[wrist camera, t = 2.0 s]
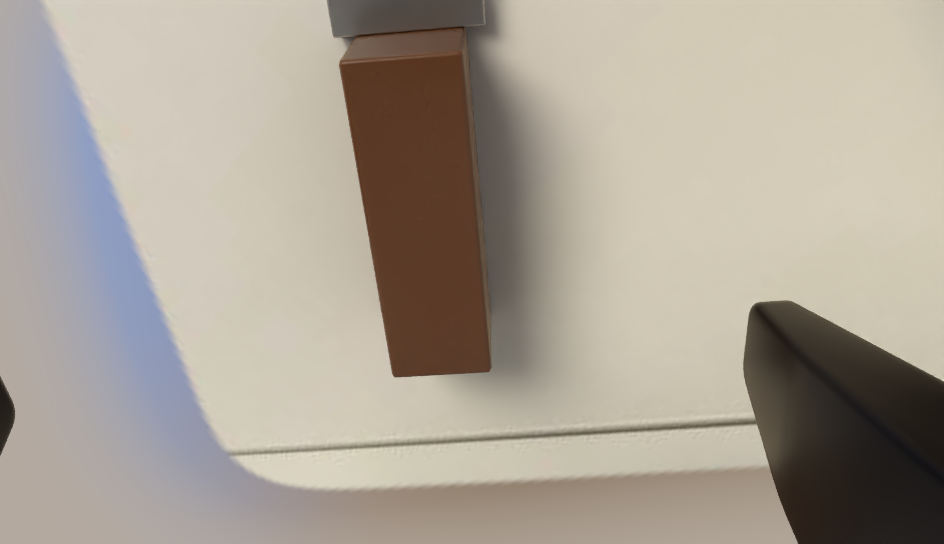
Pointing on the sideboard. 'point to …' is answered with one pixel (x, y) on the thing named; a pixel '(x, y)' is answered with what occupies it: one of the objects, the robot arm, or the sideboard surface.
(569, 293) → the sideboard surface
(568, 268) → the sideboard surface
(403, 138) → the cake knife
